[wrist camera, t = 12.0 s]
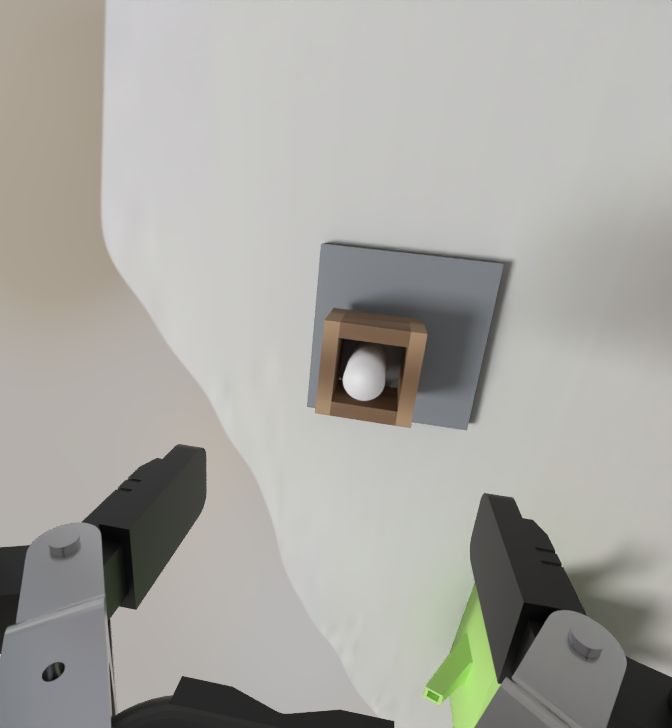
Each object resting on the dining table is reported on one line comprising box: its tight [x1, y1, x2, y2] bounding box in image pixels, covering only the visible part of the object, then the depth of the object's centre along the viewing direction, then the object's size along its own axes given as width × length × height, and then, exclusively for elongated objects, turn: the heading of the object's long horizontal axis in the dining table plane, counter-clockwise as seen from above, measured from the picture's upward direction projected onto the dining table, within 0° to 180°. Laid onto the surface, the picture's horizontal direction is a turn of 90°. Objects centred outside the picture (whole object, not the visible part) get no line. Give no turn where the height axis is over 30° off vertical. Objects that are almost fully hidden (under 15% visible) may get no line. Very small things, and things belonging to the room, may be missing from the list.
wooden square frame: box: [315, 308, 428, 428], centre depth 29 cm, size 6×6×4 cm
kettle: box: [423, 584, 501, 728], centre depth 35 cm, size 15×14×11 cm
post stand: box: [307, 243, 504, 430], centre depth 29 cm, size 13×13×8 cm
